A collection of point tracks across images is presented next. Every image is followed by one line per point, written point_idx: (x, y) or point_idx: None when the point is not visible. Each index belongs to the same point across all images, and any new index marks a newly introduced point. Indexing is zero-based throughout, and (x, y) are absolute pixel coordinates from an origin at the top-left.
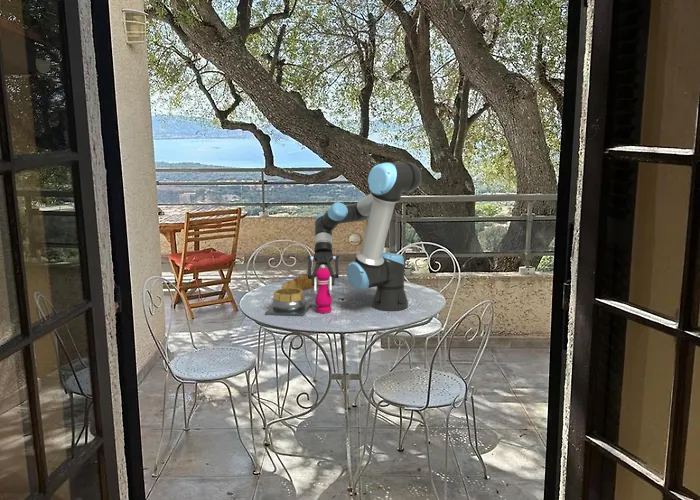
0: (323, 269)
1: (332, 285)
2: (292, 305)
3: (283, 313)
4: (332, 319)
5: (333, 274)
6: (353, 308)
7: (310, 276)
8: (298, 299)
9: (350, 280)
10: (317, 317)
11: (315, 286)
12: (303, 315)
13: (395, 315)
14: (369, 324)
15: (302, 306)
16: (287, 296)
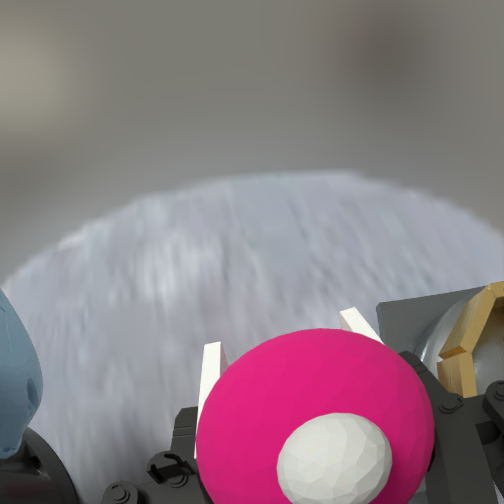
0: (297, 396)
1: None
2: (452, 306)
3: (462, 290)
4: (219, 291)
5: (157, 466)
6: (152, 481)
7: (474, 399)
8: (449, 340)
9: (19, 354)
10: (301, 308)
11: (360, 330)
12: (377, 313)
13: None
14: (77, 256)
15: None
16: (498, 284)
